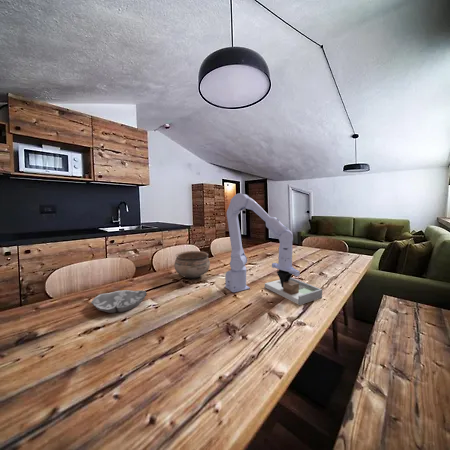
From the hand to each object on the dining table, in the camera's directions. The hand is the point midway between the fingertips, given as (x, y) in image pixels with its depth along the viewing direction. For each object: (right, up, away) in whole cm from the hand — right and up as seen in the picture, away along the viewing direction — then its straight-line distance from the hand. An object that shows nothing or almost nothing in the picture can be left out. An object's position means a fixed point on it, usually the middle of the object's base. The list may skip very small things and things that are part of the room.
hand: (284, 287), depth 97 cm
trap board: (+3, -3, +2) cm, 5 cm away
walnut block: (+2, -1, -3) cm, 4 cm away
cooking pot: (-44, -1, +21) cm, 49 cm away
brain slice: (-68, -4, -11) cm, 69 cm away
